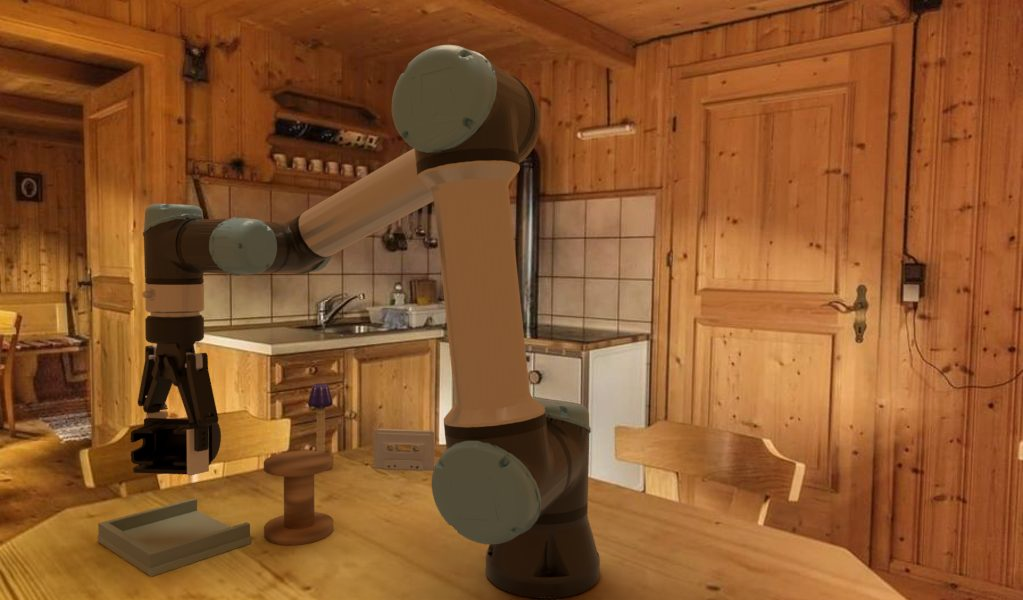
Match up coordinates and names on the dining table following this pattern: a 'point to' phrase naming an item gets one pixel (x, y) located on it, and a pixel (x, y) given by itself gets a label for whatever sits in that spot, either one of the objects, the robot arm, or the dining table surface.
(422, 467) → the cassette
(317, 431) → the toy lamp
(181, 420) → the end cap
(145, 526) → the olive grey tray
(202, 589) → the dining table surface
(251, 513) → the dining table surface
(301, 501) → the bobbin spool
